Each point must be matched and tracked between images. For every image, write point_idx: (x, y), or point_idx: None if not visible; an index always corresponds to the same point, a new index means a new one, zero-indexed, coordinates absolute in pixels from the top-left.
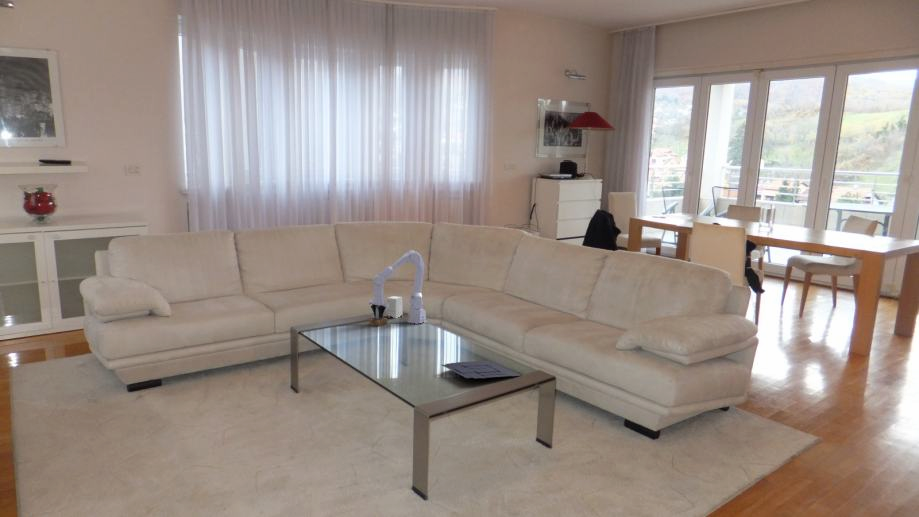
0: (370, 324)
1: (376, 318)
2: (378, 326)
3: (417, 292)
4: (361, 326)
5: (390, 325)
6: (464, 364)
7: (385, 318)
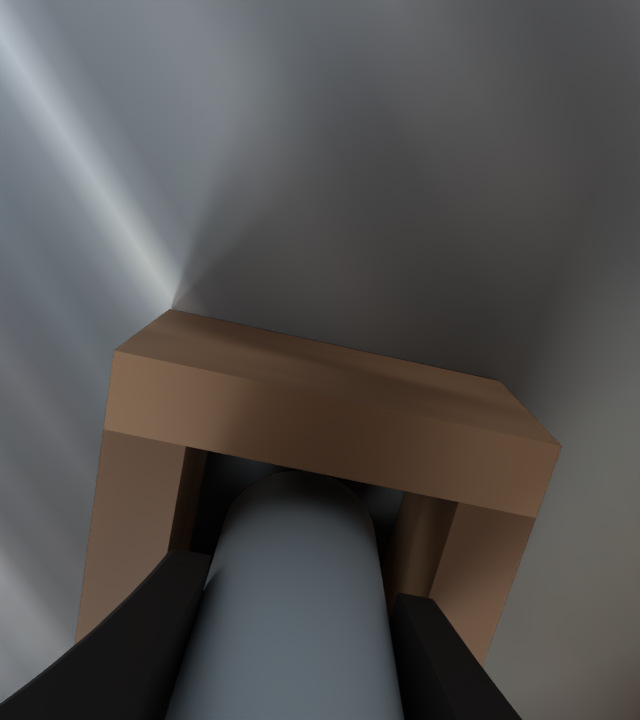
0: (464, 375)
1: (322, 530)
2: (179, 311)
3: None
4: (623, 118)
5: (5, 546)
6: None
7: None
